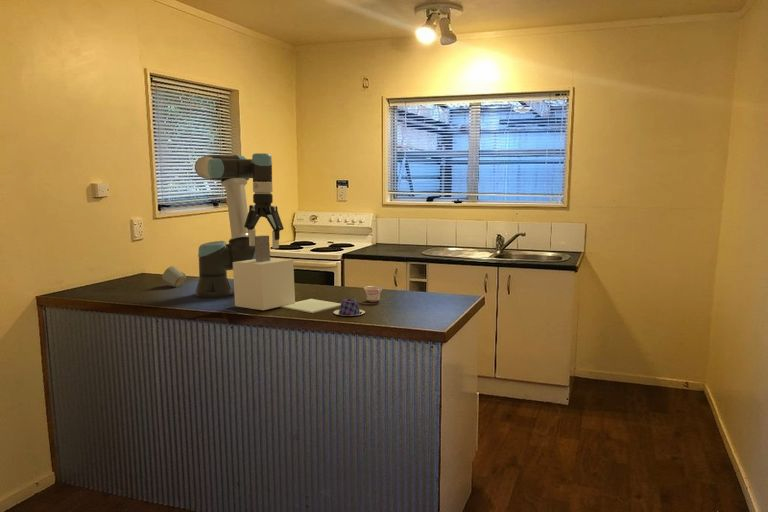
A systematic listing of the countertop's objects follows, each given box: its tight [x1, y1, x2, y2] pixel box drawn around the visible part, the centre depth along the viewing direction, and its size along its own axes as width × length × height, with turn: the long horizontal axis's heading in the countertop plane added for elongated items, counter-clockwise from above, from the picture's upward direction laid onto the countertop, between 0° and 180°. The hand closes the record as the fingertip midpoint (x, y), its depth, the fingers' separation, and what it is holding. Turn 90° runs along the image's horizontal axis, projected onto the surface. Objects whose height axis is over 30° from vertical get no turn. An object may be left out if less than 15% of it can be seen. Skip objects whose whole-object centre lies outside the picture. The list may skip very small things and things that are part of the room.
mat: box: [279, 298, 341, 314], centre depth 238 cm, size 18×18×1 cm
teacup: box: [360, 285, 383, 305], centre depth 247 cm, size 12×12×6 cm
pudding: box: [333, 298, 366, 317], centre depth 226 cm, size 12×12×5 cm
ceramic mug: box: [161, 265, 187, 288], centre depth 282 cm, size 11×8×8 cm
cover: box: [232, 235, 296, 311], centre depth 238 cm, size 17×17×28 cm
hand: (263, 247), depth 237 cm, fingers open, 13 cm apart
